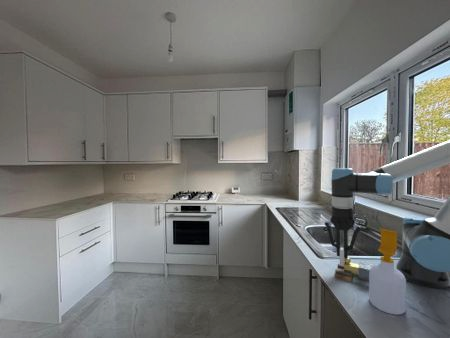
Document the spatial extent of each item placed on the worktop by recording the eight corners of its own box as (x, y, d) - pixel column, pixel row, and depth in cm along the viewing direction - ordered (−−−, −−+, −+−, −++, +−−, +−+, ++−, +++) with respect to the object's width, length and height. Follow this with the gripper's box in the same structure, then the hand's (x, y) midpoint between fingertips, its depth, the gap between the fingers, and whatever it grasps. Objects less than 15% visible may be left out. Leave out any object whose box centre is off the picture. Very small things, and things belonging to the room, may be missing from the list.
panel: (376, 277, 82) (376, 274, 82) (376, 289, 74) (376, 285, 74) (338, 267, 89) (338, 264, 89) (334, 277, 82) (334, 274, 82)
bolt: (365, 273, 81) (365, 260, 81) (365, 277, 79) (365, 263, 79) (344, 268, 85) (344, 256, 85) (343, 271, 83) (343, 258, 83)
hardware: (376, 275, 81) (376, 264, 80) (376, 284, 75) (376, 271, 75) (337, 266, 88) (337, 255, 88) (335, 272, 83) (335, 261, 83)
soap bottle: (366, 305, 66) (367, 228, 65) (372, 292, 73) (373, 222, 72) (403, 320, 60) (404, 235, 59) (406, 304, 66) (407, 228, 65)
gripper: (362, 206, 83) (362, 265, 84) (326, 203, 91) (326, 257, 91) (360, 210, 77) (360, 273, 78) (322, 206, 85) (322, 264, 85)
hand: (342, 264), depth 85 cm, fingers closed
